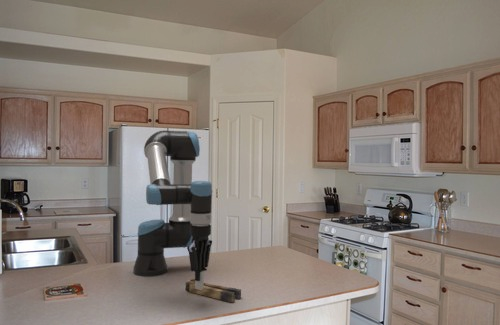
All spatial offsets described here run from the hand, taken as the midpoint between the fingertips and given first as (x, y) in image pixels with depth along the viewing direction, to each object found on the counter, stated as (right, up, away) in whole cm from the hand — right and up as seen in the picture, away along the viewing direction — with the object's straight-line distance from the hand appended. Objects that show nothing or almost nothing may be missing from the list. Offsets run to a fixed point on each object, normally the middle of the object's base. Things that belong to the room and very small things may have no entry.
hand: (199, 288), depth 145 cm
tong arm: (+3, -5, +7) cm, 9 cm away
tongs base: (+4, -5, +9) cm, 11 cm away
